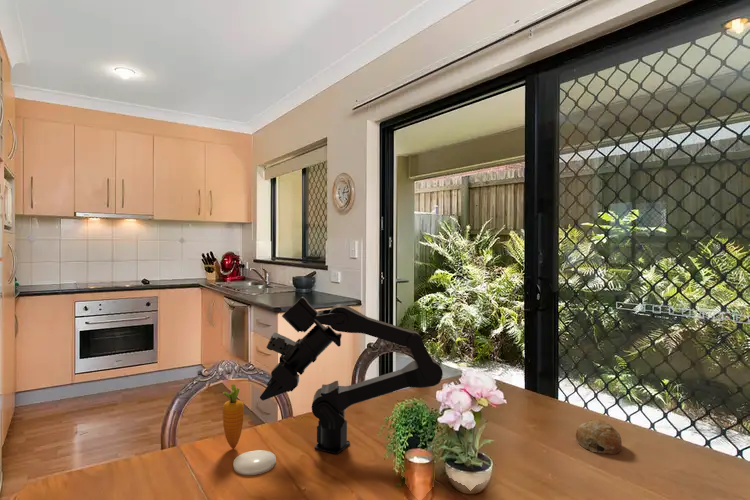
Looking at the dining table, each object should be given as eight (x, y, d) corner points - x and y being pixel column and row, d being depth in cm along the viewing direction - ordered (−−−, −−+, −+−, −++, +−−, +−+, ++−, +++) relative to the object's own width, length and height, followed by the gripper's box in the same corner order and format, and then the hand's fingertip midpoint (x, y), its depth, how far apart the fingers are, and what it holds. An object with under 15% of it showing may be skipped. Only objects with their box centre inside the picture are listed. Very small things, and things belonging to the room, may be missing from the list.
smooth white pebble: (283, 459, 100) (283, 455, 100) (257, 478, 92) (257, 474, 92) (252, 451, 104) (252, 447, 104) (224, 468, 95) (224, 464, 95)
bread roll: (576, 461, 108) (577, 437, 104) (574, 428, 116) (575, 406, 113) (622, 469, 104) (624, 445, 101) (617, 435, 112) (619, 411, 109)
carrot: (237, 454, 102) (237, 390, 102) (218, 452, 103) (218, 388, 103) (248, 445, 107) (248, 383, 107) (229, 443, 108) (229, 382, 108)
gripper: (292, 315, 115) (249, 358, 114) (282, 329, 96) (230, 381, 95) (322, 345, 115) (279, 388, 115) (318, 365, 97) (267, 416, 96)
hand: (264, 392), depth 105 cm, fingers open, 9 cm apart
